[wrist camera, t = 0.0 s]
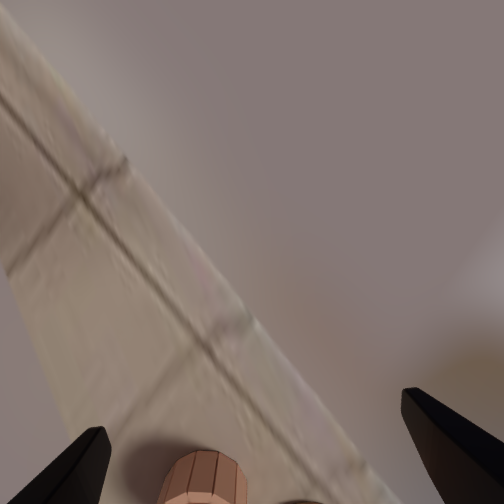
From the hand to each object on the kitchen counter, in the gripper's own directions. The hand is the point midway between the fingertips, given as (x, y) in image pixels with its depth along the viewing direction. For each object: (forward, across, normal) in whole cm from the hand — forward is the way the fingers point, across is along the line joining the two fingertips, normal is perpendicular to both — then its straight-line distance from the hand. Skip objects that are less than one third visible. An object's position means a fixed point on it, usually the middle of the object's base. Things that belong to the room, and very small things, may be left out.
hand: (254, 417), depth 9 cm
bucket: (+11, +6, +19) cm, 23 cm away
